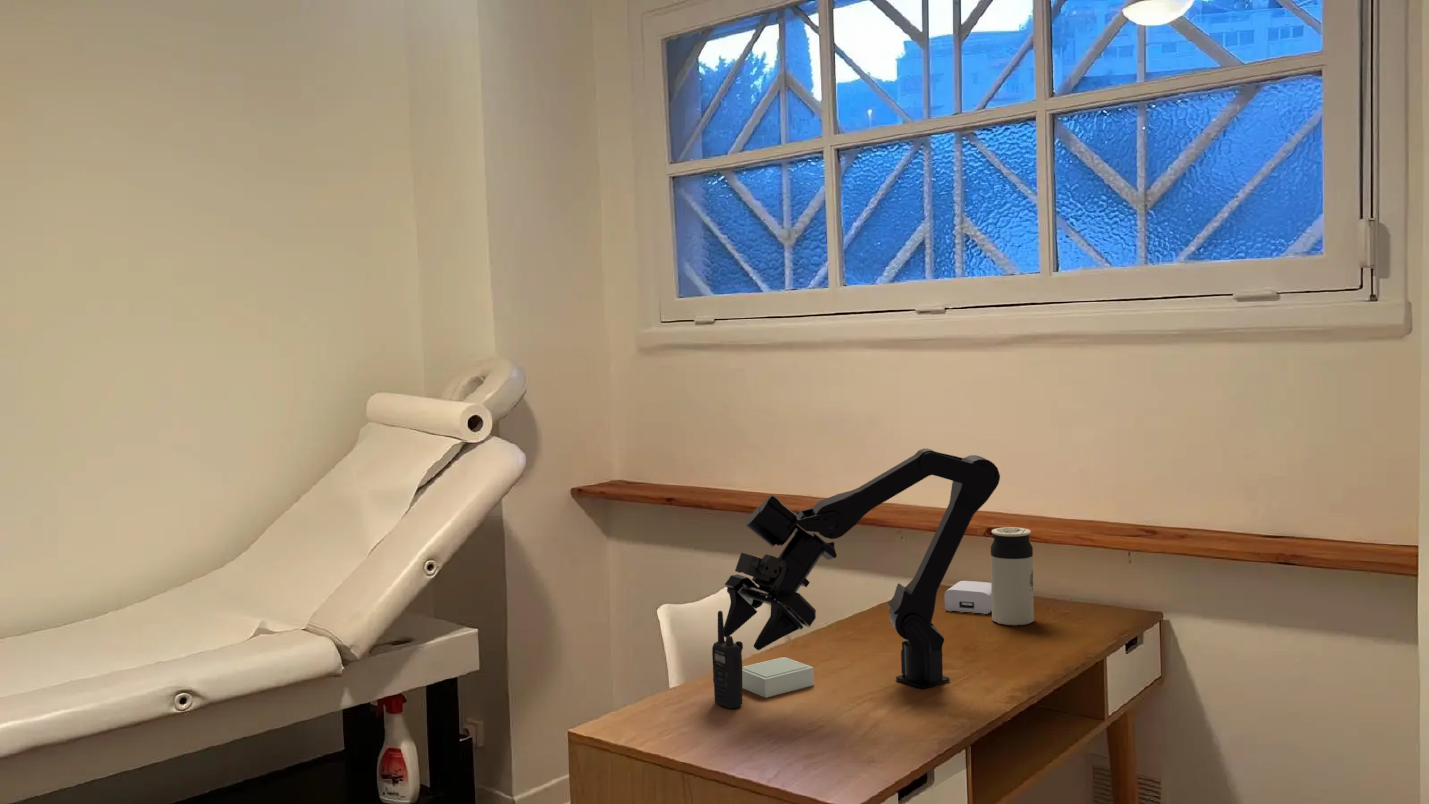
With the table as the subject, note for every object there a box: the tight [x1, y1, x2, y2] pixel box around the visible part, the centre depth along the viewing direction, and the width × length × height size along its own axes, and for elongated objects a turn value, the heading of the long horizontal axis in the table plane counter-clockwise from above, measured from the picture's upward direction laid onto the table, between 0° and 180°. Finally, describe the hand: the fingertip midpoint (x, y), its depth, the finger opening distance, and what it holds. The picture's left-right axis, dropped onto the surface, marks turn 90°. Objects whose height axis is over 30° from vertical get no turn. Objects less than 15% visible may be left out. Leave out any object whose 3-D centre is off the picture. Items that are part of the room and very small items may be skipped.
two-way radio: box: [711, 610, 744, 710], centre depth 184 cm, size 6×4×15 cm
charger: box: [944, 580, 992, 615], centre depth 242 cm, size 5×9×15 cm
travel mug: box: [990, 526, 1035, 627], centre depth 227 cm, size 8×8×18 cm
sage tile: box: [742, 656, 815, 698], centre depth 193 cm, size 8×10×3 cm
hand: (739, 642), depth 185 cm, fingers open, 9 cm apart
